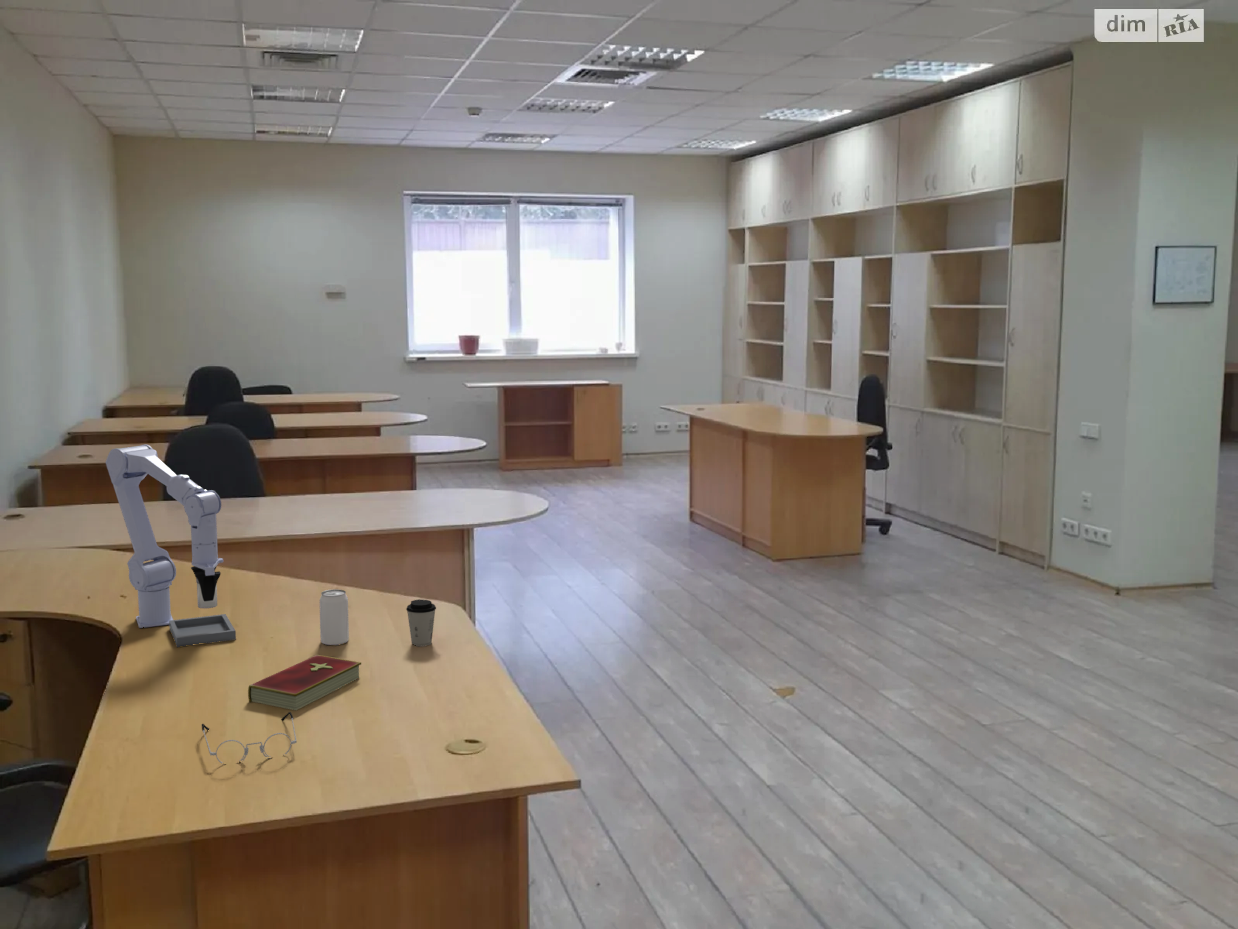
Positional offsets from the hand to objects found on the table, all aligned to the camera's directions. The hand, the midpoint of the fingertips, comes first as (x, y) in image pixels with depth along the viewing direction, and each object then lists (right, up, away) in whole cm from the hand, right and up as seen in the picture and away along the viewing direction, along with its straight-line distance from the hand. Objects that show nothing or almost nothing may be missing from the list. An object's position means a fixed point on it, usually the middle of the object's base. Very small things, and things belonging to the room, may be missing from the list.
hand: (206, 598), depth 258 cm
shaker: (0, -2, 0) cm, 2 cm away
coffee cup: (+52, -11, -3) cm, 53 cm away
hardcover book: (+34, -16, -34) cm, 50 cm away
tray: (-1, -9, +1) cm, 9 cm away
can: (+31, -10, -3) cm, 33 cm away
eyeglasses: (+31, -20, -61) cm, 71 cm away
